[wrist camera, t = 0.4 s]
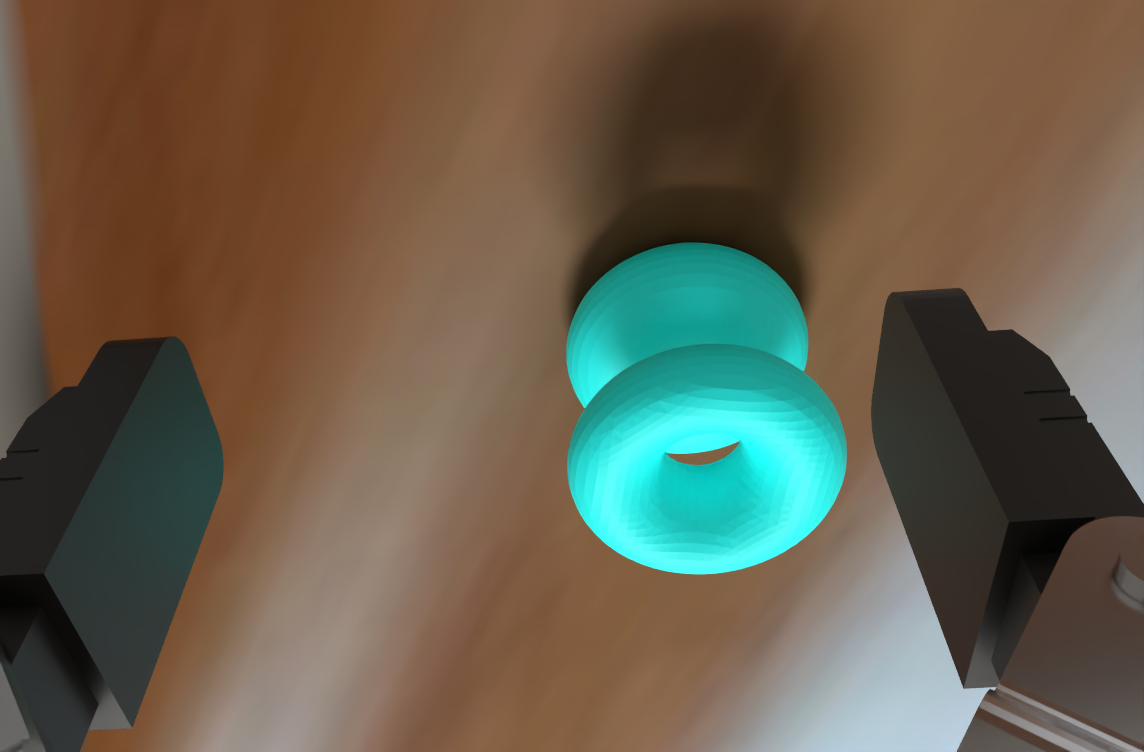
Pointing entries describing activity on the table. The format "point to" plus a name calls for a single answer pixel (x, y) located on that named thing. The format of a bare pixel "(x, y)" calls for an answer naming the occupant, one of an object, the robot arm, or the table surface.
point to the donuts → (698, 412)
